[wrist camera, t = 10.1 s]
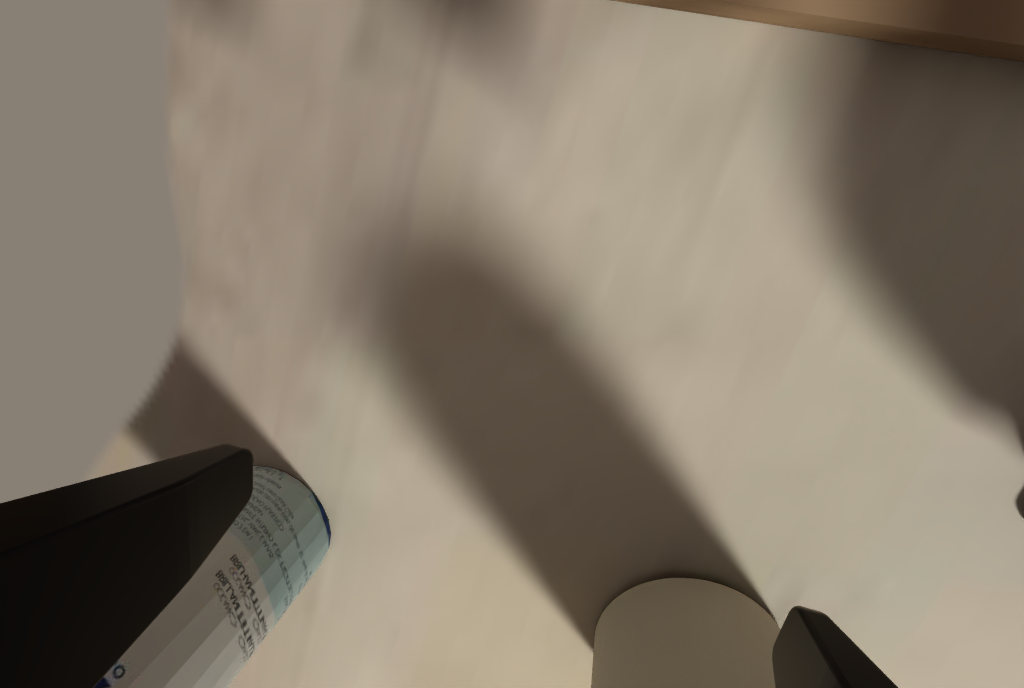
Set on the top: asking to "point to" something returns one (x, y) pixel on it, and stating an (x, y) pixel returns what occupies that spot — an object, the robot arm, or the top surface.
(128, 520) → the robot arm
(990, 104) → the top surface
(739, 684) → the travel mug
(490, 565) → the top surface
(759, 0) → the shelf board
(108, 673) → the spray paint can
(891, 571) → the top surface
